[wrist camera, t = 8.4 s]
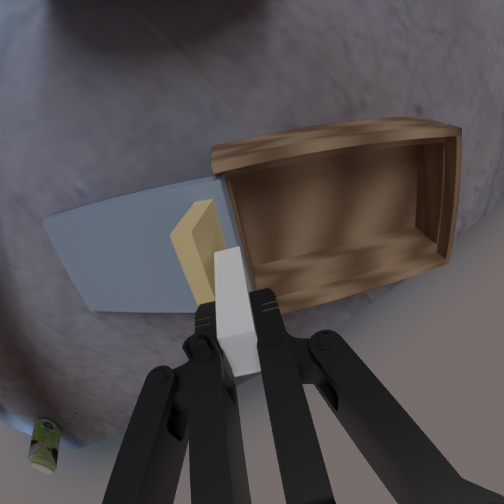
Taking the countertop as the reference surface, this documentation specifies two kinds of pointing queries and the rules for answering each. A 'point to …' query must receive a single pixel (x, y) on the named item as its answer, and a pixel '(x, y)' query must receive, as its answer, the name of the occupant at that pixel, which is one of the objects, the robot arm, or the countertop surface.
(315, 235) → the box
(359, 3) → the countertop surface
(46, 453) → the beverage can
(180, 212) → the lid
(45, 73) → the countertop surface
